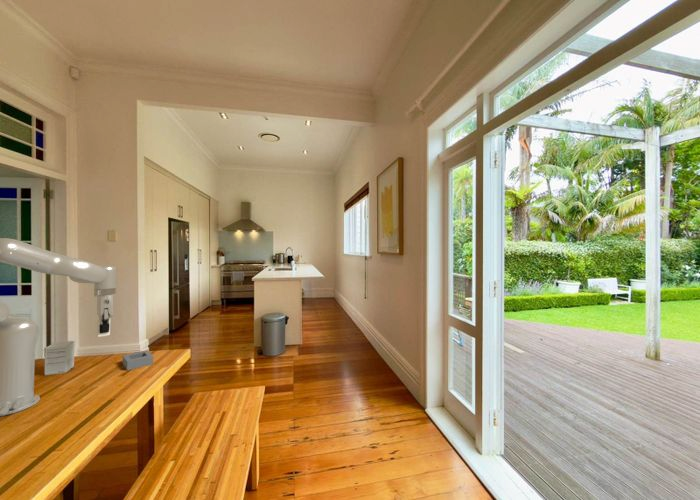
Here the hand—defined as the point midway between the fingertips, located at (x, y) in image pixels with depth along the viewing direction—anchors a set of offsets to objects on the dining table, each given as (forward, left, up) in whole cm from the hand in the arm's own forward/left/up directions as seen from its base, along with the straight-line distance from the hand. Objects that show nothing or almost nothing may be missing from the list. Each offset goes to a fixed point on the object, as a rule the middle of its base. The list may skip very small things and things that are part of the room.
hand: (103, 331), depth 122 cm
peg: (0, 0, -2) cm, 2 cm away
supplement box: (+16, +13, -19) cm, 28 cm away
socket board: (0, -13, -19) cm, 23 cm away
